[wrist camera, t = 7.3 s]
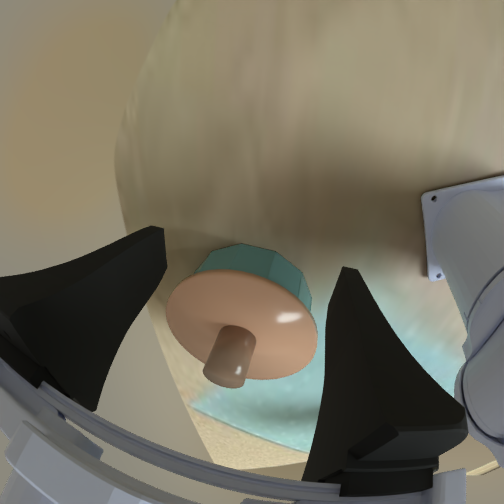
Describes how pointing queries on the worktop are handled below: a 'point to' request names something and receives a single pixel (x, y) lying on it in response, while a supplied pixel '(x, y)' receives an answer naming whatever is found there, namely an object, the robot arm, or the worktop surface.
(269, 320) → the lid
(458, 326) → the worktop surface
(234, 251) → the bowl
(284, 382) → the worktop surface
